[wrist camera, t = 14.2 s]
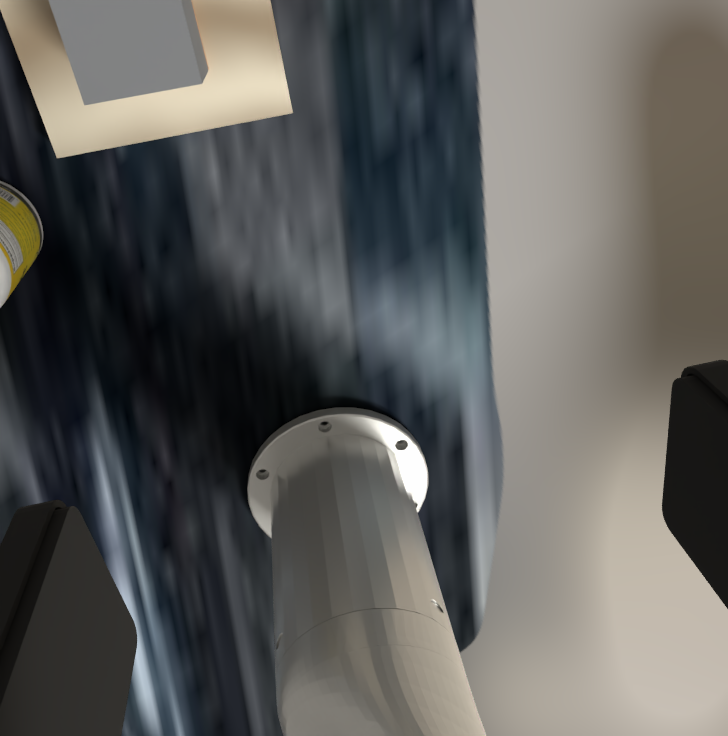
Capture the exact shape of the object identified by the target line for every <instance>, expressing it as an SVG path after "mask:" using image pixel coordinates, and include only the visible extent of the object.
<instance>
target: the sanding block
mask: <svg viewBox="0 0 728 736" xmlns="http://www.w3.org/2000/svg"><path fill="white" fill-rule="evenodd" d="M49 3H50V6H51V9H52V12H53V15H54V18H55V21H56V24H57V27H58V30H59V32H60V35H61V38H62V41H63V44H64V47H65V50H66V53H67V56H68V59H69V62H70V65H71V68H72V70H73V73H74V76H75V79H76V82H77V85H78V88H79V91H80V94H81V97H82V100H83V103H84V105H90V104H95V103H101V102H106V101H111V100H117V99H122V98H128V97H133V96H139V95H144V94H150V93H155V92H161V91H166V90H171V89H177V88H182V87H188V86H193V85H199V84H202V83H203V81H204V79H205V77H206V75H207V73H208V70H209V67H208V63H207V59H206V55H205V51H204V47H203V43H202V39H201V35H200V31H199V27H198V23H197V19H196V14H195V10H194V6H193V2H192V0H49Z"/></svg>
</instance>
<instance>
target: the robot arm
mask: <svg viewBox="0 0 728 736" xmlns="http://www.w3.org/2000/svg"><path fill="white" fill-rule="evenodd" d="M323 421H325V422H323ZM427 488H428V469H427V465H426V462H425V458H424V455H423V453H422V451H421V448H420V446H419V444H418V442H417V441H416V440H415V438H414V437H413V435H412V434H411V433H410V432H409V431H408V430H407V429H406V428H404V427H403V426H402V425H401V424H400V423H398V422H396V421H395V420H393V419H391V418H389V417H388V416H386V415H383V414H380V413H377V412H374V411H371V410H366V409H360V408H354V407H335V408H329V409H323V410H317V411H314V412H311V413H308V414H305V415H302V416H299V417H298V418H296V419H294V420H292V421H290V422H288V423H286V424H284V425H283V426H282V427H281V428H279V429H278V430H277V431H275V432H274V433H273V434H272V435H270V437H269V438H268V439H267V440H266V441H265V442H264V443H263V445H262V446H261V447H260V448H259V450H258V452H257V454H256V455H255V457H254V459H253V461H252V464H251V467H250V471H249V474H248V488H247V490H248V503H249V506H250V509H251V512H252V515H253V517H254V518H255V520H256V522H257V523H258V525H259V527H260V528H261V529H262V530H263V531H264V532H265V533H266V534H267V535H268V536H269V537H270V538H272V569H273V604H274V640H275V676H276V703H277V711H278V716H279V720H280V724H281V728H282V731H283V734H284V736H486V733H485V730H484V727H483V725H482V722H481V719H480V716H479V714H478V710H477V708H476V704H475V701H474V699H473V695H472V693H471V689H470V686H469V683H468V680H467V676H466V673H465V670H464V666H463V663H462V660H461V656H460V653H459V650H458V646H457V644H456V641H455V637H454V634H453V631H452V627H451V624H450V621H449V617H448V614H447V610H446V607H445V604H444V600H443V597H442V594H441V590H440V587H439V584H438V580H437V577H436V574H435V570H434V567H433V563H432V560H431V557H430V553H429V550H428V547H427V543H426V540H425V537H424V533H423V530H422V527H421V523H420V520H419V516H418V512H419V510H420V508H421V506H422V504H423V502H424V500H425V497H426V493H427ZM662 511H663V516H664V520H665V522H666V524H667V527H668V528H669V530H670V531H671V533H672V534H673V535H674V537H675V538H676V539H677V541H678V542H679V544H680V545H681V546H682V548H683V549H684V550H685V552H686V553H687V554H688V556H689V557H690V558H691V560H692V561H693V562H694V564H695V565H696V567H697V568H698V569H699V571H700V572H701V573H702V575H703V576H704V577H705V579H706V580H707V581H708V583H709V584H710V585H711V587H712V588H713V590H714V591H715V592H716V594H717V595H718V596H719V598H720V599H721V600H722V602H723V603H724V604H725V606H726V607H727V609H728V361H726V360H718V361H713V362H708V363H703V364H699V365H694V366H690V367H687V368H685V369H684V371H683V372H682V375H681V378H677V379H676V380H675V381H674V382H673V385H672V394H671V405H670V417H669V429H668V441H667V453H666V465H665V477H664V488H663V500H662ZM136 648H137V633H136V627H135V624H134V621H133V619H132V617H131V615H130V613H129V611H128V609H127V607H126V605H125V603H124V601H123V599H122V597H121V595H120V593H119V591H118V589H117V587H116V584H115V582H114V580H113V578H112V576H111V574H110V572H109V570H108V568H107V566H106V564H105V562H104V560H103V558H102V556H101V554H100V552H99V550H98V548H97V546H96V544H95V542H94V540H93V538H92V536H91V534H90V532H89V530H88V528H87V526H86V524H85V522H84V520H83V518H82V516H81V514H80V512H79V510H78V509H77V508H76V507H73V506H71V507H66V505H65V504H64V503H63V502H62V501H61V500H53V501H49V502H44V503H39V504H34V505H30V506H25V507H21V508H19V509H18V510H17V511H16V513H15V514H14V516H13V518H12V521H11V523H10V525H9V528H8V530H7V532H6V534H5V537H4V539H3V541H2V543H1V546H0V736H121V733H122V728H123V722H124V716H125V711H126V705H127V699H128V693H129V688H130V682H131V676H132V671H133V665H134V659H135V654H136Z"/></svg>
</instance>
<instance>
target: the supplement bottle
mask: <svg viewBox="0 0 728 736" xmlns="http://www.w3.org/2000/svg"><path fill="white" fill-rule="evenodd" d="M42 243H43V227H42V223H41V220H40V217H39V215H38V213H37V211H36V209H35V208H34V206H33V205H32V203H31V202H30V201H29V200H28V199H27V198H26V197H25V196H24V195H23V194H22V193H21V192H20V191H18V190H17V189H15V188H14V187H12V186H11V185H9V184H7V183H4V182H2V181H0V308H1V307H2V305H3V304H4V303H5V302H6V300H7V299H8V297H9V296H10V295H11V293H12V292H13V290H14V289H15V287H16V286H17V284H18V283H19V282H20V281H21V279H22V278H23V276H24V275H25V273H26V272H27V270H28V269H29V268H30V266H31V265H32V264H33V262H34V261H35V259H36V257H37V256H38V254H39V252H40V250H41V247H42Z"/></svg>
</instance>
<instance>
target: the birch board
mask: <svg viewBox="0 0 728 736" xmlns="http://www.w3.org/2000/svg"><path fill="white" fill-rule="evenodd" d="M192 2H193V6H194V10H195V14H196V19H197V23H198V27H199V31H200V35H201V39H202V43H203V47H204V51H205V55H206V59H207V63H208V67H209V70H208V73H207V75H206V77H205V79H204V81H203V83H202V84H199V85H193V86H188V87H182V88H177V89H171V90H166V91H161V92H155V93H150V94H144V95H139V96H133V97H128V98H122V99H117V100H111V101H106V102H101V103H95V104H90V105H84V103H83V100H82V97H81V94H80V91H79V88H78V85H77V82H76V79H75V76H74V73H73V70H72V68H71V65H70V62H69V59H68V56H67V53H66V50H65V47H64V44H63V41H62V38H61V35H60V32H59V30H58V27H57V24H56V21H55V18H54V15H53V12H52V9H51V6H50V3H49V0H0V10H1V13H2V15H3V18H4V21H5V23H6V26H7V29H8V31H9V34H10V36H11V39H12V42H13V44H14V47H15V50H16V52H17V55H18V57H19V60H20V63H21V65H22V68H23V71H24V73H25V76H26V78H27V81H28V84H29V86H30V89H31V91H32V94H33V97H34V99H35V102H36V105H37V107H38V110H39V112H40V115H41V118H42V120H43V123H44V126H45V128H46V131H47V133H48V136H49V139H50V141H51V144H52V146H53V149H54V152H55V154H56V157H57V158H62V157H67V156H72V155H77V154H83V153H88V152H93V151H98V150H103V149H109V148H114V147H119V146H124V145H129V144H135V143H140V142H145V141H150V140H155V139H160V138H166V137H171V136H176V135H181V134H186V133H192V132H197V131H202V130H207V129H212V128H218V127H223V126H228V125H233V124H238V123H243V122H249V121H254V120H259V119H264V118H269V117H275V116H280V115H285V114H290V113H293V111H292V106H291V101H290V96H289V91H288V86H287V81H286V76H285V72H284V67H283V62H282V57H281V52H280V47H279V42H278V37H277V32H276V27H275V22H274V17H273V12H272V7H271V2H270V0H192Z"/></svg>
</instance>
